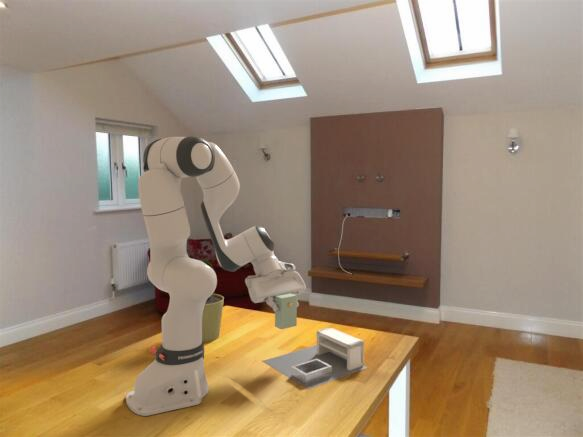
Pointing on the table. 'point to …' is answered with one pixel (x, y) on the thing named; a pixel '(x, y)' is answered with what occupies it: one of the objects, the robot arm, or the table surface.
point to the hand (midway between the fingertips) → (287, 308)
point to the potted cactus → (212, 315)
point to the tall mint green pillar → (286, 311)
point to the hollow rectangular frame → (306, 378)
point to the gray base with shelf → (325, 356)
